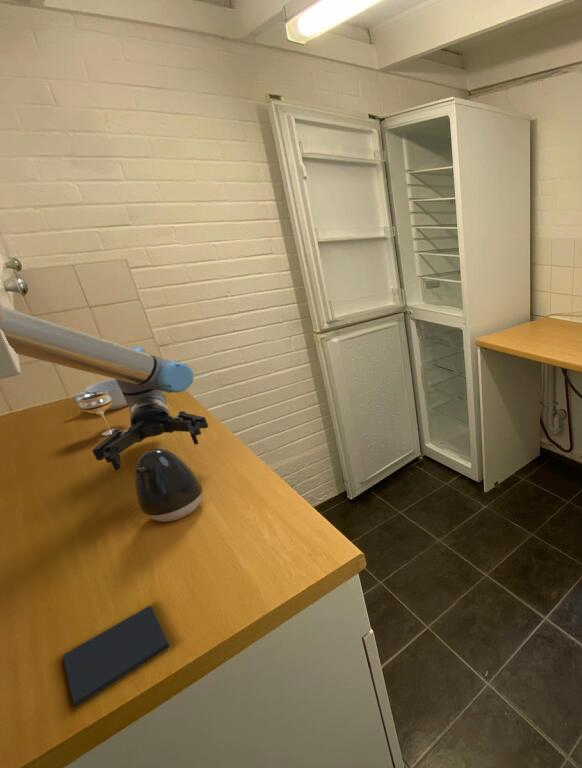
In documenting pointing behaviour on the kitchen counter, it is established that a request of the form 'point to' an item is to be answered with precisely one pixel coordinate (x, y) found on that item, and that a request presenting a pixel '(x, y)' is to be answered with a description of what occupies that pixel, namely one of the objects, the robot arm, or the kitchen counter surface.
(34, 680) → the kitchen counter surface
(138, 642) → the mat
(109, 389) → the teacup
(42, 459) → the kitchen counter surface
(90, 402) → the wineglass
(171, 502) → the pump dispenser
